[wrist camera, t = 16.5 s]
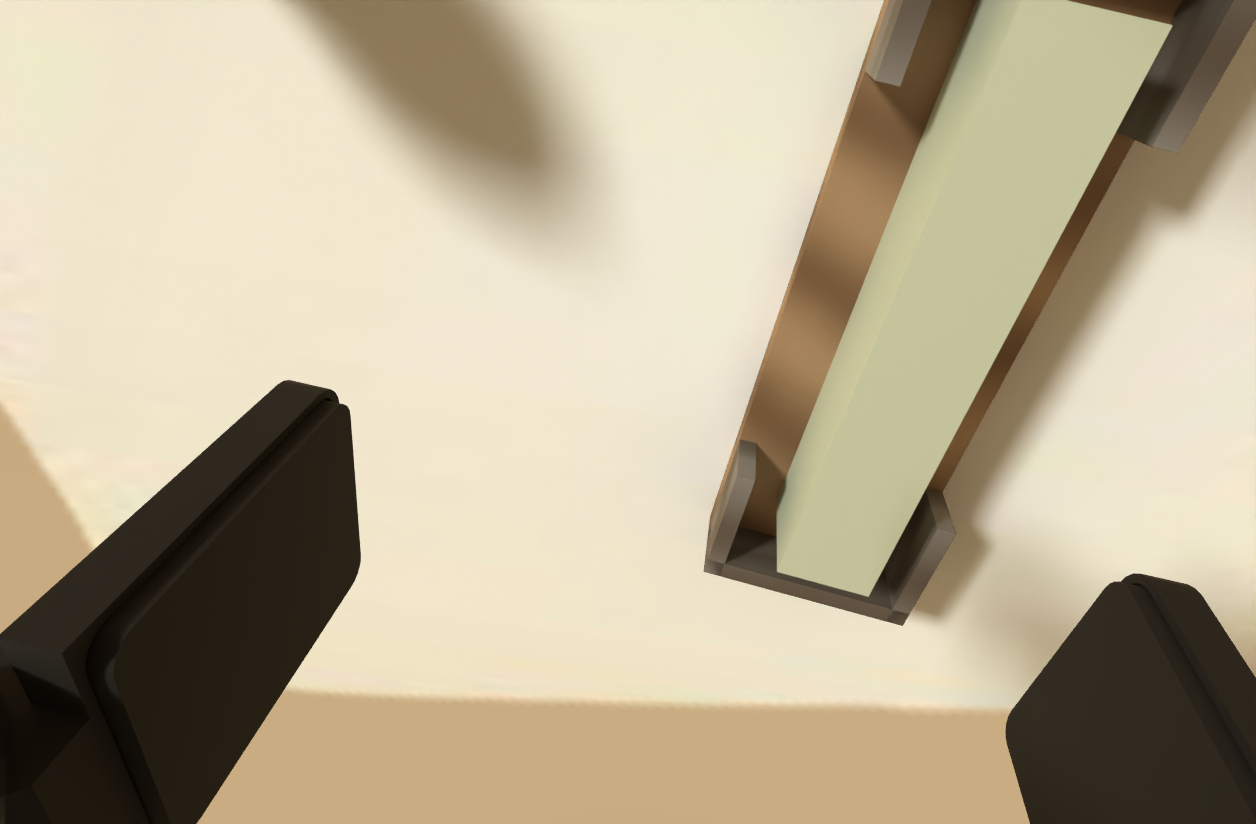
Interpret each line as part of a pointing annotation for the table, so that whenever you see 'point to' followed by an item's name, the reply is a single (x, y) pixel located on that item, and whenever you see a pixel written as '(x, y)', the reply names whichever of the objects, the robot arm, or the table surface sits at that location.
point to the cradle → (848, 239)
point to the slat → (955, 269)
